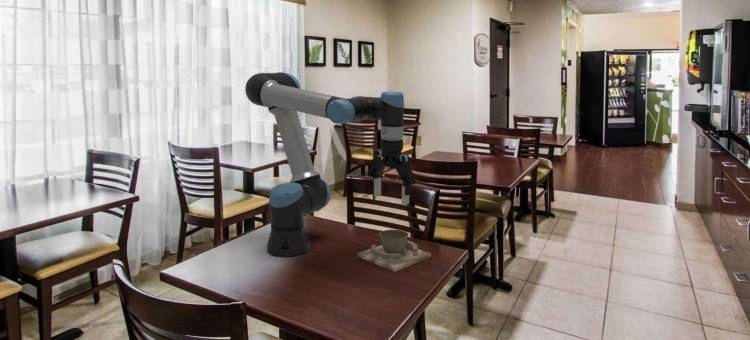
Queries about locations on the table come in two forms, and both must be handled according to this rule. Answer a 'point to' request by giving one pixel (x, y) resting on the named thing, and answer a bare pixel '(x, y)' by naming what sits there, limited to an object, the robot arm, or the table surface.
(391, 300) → the table surface
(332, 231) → the table surface
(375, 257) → the holder
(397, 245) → the flower pot
